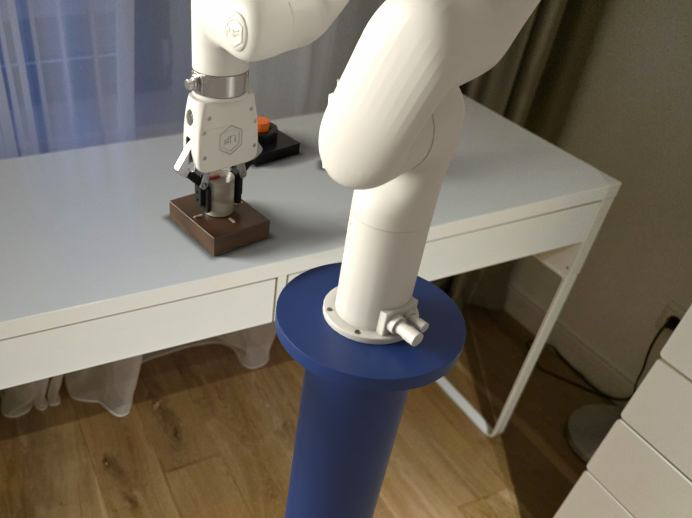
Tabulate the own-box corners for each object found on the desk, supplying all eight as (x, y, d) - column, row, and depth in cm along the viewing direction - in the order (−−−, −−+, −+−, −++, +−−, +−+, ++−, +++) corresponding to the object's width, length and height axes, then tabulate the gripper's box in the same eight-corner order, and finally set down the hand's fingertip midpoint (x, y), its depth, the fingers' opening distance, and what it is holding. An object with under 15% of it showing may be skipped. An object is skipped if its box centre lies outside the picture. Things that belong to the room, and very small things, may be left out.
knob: (223, 199, 102) (223, 164, 99) (239, 212, 100) (241, 177, 96) (198, 207, 101) (197, 171, 97) (213, 220, 98) (214, 184, 94)
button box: (299, 154, 122) (301, 133, 120) (255, 166, 118) (256, 145, 115) (261, 131, 130) (262, 111, 127) (219, 142, 125) (219, 121, 123)
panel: (269, 237, 100) (270, 219, 98) (213, 256, 96) (214, 237, 94) (222, 201, 108) (222, 183, 106) (169, 217, 104) (168, 199, 102)
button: (273, 131, 121) (274, 121, 120) (257, 135, 120) (258, 125, 118) (262, 124, 123) (262, 115, 122) (246, 128, 122) (246, 118, 121)
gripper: (179, 103, 82) (182, 230, 94) (288, 79, 89) (278, 200, 101) (150, 84, 86) (157, 208, 98) (256, 62, 93) (250, 180, 105)
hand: (218, 203), depth 99 cm, fingers closed on knob, 4 cm apart
